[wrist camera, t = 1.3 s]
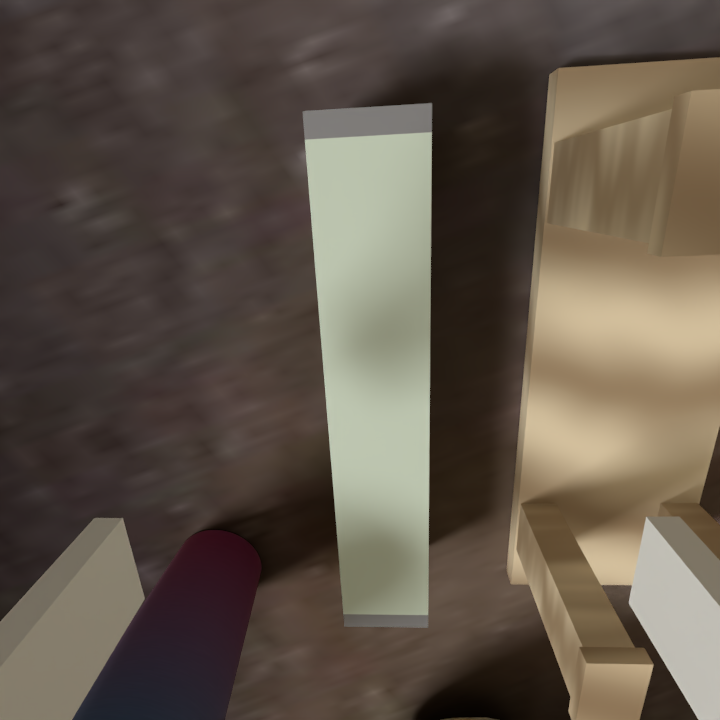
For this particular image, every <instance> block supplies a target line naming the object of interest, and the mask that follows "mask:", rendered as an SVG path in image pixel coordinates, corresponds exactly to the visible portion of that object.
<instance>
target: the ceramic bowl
mask: <svg viewBox="0 0 720 720" xmlns="http://www.w3.org/2000/svg"><path fill="white" fill-rule="evenodd" d="M442 720H498V719H492V718H487V717H475V718H450V719H442Z"/></svg>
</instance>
